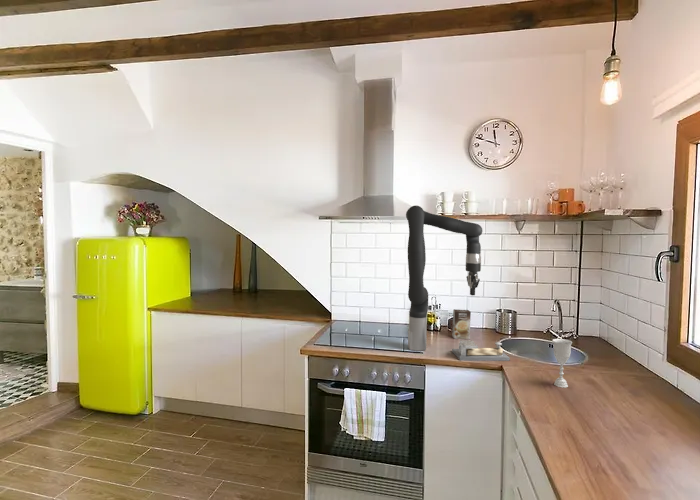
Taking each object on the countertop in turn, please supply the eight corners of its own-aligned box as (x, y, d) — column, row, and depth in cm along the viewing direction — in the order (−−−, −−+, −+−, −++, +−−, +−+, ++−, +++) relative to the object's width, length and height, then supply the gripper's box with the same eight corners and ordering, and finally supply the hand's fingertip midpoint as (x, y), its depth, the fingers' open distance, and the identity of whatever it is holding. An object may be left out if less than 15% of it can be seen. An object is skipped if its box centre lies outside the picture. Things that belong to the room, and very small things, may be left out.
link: (500, 352, 193) (500, 347, 193) (504, 355, 189) (504, 350, 189) (465, 353, 192) (465, 348, 192) (467, 355, 188) (468, 350, 188)
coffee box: (454, 338, 225) (454, 311, 224) (452, 335, 231) (452, 309, 231) (470, 339, 224) (470, 311, 223) (467, 336, 231) (468, 309, 230)
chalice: (560, 389, 153) (561, 344, 152) (547, 382, 160) (548, 339, 159) (575, 387, 155) (576, 342, 154) (561, 381, 162) (563, 338, 161)
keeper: (462, 360, 186) (462, 345, 186) (457, 354, 195) (457, 340, 195) (477, 360, 186) (477, 345, 186) (471, 354, 195) (471, 340, 195)
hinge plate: (460, 360, 187) (460, 345, 186) (452, 351, 201) (452, 337, 200) (509, 360, 187) (510, 345, 187) (498, 351, 201) (498, 337, 201)
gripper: (461, 261, 208) (461, 293, 209) (470, 263, 195) (470, 297, 196) (475, 261, 209) (474, 293, 209) (485, 263, 195) (484, 297, 196)
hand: (472, 295), depth 203 cm, fingers closed
